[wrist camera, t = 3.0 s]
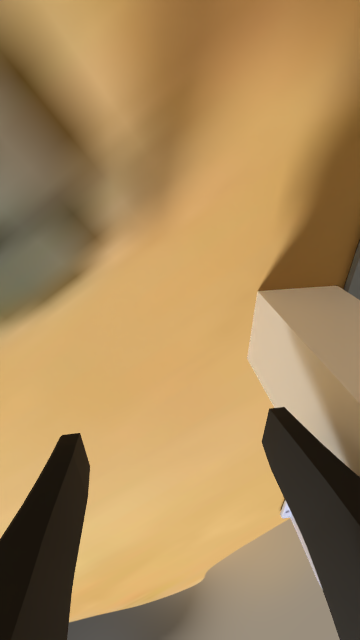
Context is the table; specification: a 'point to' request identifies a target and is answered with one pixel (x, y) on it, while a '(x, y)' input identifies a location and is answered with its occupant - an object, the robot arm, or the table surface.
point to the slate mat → (354, 276)
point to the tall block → (312, 362)
